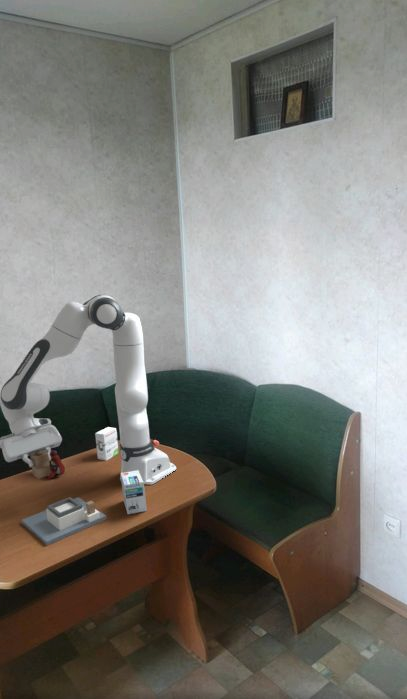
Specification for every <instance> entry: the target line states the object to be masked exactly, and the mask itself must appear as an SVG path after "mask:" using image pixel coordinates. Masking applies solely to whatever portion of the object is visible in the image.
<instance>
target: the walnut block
mask: <svg viewBox="0 0 407 699" xmlns="http://www.w3.org/2000/svg"><path fill="white" fill-rule="evenodd" d="M29 459H30V460H34V462H35V466H33V467H31V469H32V476H34V477H35V478H36V479H42V478H44V477H45V478H46V477H47V476H48V475H50V474H51V471H50V464H49V457H48V454H47V453H46V452H44V451H37V452H36V453H34V454H31V455H30V456H29Z"/></svg>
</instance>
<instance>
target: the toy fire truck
mask: <svg viewBox="0 0 407 699" xmlns="http://www.w3.org/2000/svg"><path fill="white" fill-rule="evenodd" d="M44 452H45V451H44ZM50 456H51V461H49V464H50V471H51V474H50V475H48V476H46V478H47V479H53V478H55V475H56V474H57V475H62V474H63V473H65V470H66V467H65V465H64V464H63V463H62V460H61V458H60V456H59V455H58V452H57V450H52V449H50Z"/></svg>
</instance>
